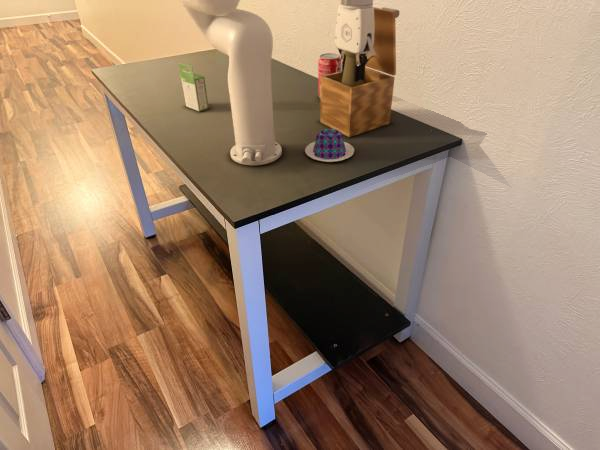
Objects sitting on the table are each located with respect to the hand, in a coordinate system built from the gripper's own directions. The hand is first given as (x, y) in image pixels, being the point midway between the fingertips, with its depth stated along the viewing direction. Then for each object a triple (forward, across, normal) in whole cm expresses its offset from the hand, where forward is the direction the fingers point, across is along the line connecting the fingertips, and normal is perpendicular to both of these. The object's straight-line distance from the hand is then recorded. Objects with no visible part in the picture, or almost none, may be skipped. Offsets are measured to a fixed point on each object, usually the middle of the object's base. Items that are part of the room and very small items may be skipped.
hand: (352, 77), depth 108 cm
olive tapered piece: (+2, 0, 0) cm, 2 cm away
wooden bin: (+13, 0, +2) cm, 13 cm away
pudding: (+13, +10, -15) cm, 23 cm away
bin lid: (-8, 0, +7) cm, 11 cm away
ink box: (+13, -38, -29) cm, 50 cm away
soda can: (+13, -20, +8) cm, 25 cm away
